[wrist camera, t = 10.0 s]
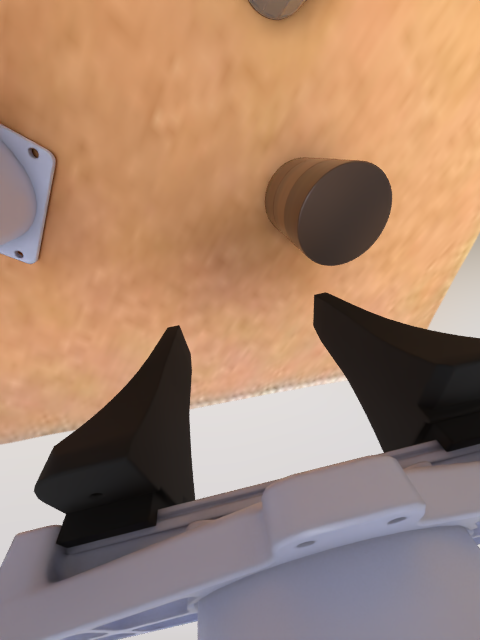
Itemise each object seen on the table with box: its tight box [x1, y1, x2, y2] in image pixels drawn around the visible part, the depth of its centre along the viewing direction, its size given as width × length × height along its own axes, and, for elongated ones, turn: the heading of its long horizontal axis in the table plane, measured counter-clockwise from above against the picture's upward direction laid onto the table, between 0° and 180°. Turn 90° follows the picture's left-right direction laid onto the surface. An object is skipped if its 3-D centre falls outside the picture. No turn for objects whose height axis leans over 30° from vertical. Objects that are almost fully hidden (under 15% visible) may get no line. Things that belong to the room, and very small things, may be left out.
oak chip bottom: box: [265, 158, 317, 232], centre depth 17 cm, size 5×5×2 cm
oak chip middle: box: [274, 158, 338, 241], centre depth 15 cm, size 5×5×2 cm
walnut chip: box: [284, 159, 392, 266], centre depth 13 cm, size 5×5×2 cm
